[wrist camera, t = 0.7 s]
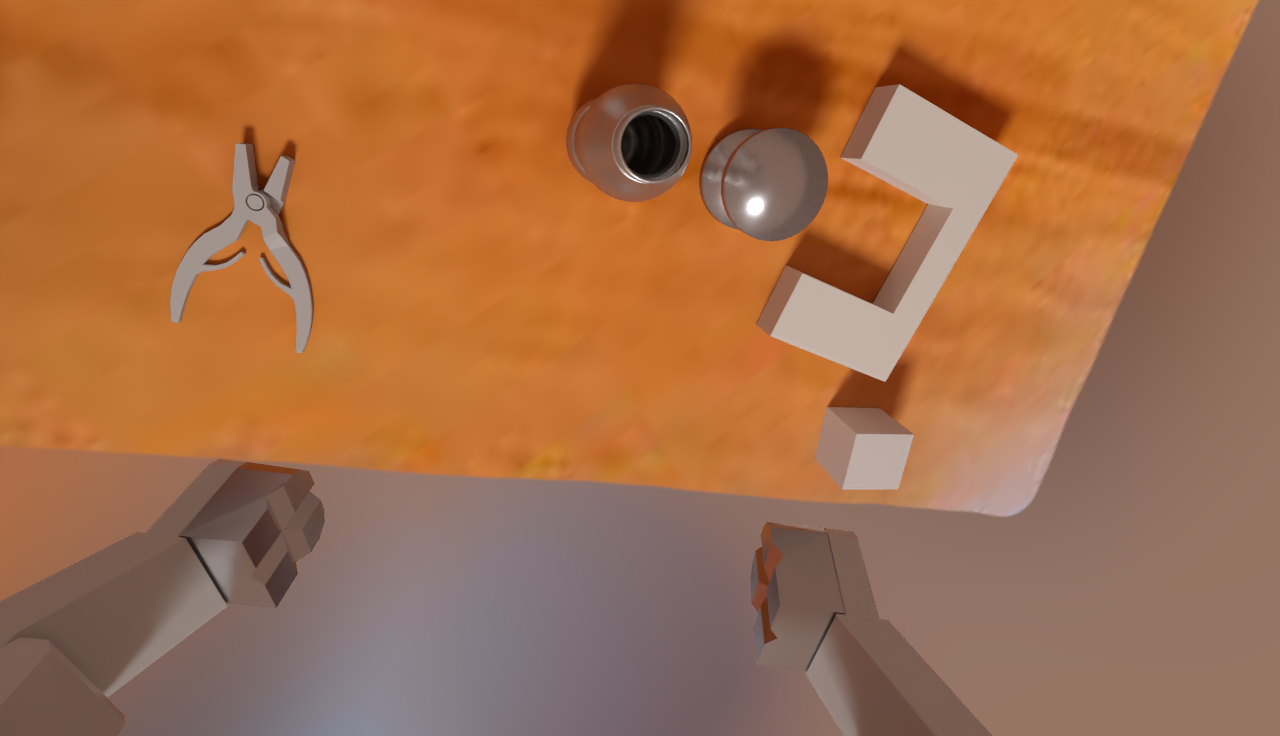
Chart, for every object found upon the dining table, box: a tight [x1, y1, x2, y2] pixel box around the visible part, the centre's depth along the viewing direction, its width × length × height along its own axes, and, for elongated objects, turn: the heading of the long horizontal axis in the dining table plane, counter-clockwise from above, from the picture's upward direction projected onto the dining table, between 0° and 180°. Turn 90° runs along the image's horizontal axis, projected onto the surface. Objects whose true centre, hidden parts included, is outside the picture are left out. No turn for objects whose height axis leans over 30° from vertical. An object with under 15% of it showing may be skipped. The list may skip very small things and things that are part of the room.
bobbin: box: [699, 128, 828, 241], centre depth 47 cm, size 8×8×7 cm
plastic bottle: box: [566, 83, 692, 202], centre depth 38 cm, size 6×7×20 cm
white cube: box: [815, 407, 914, 490], centre depth 59 cm, size 6×6×6 cm
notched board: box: [756, 84, 1018, 382], centre depth 52 cm, size 22×13×4 cm, turn 156°
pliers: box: [171, 143, 313, 353], centre depth 45 cm, size 10×2×15 cm
